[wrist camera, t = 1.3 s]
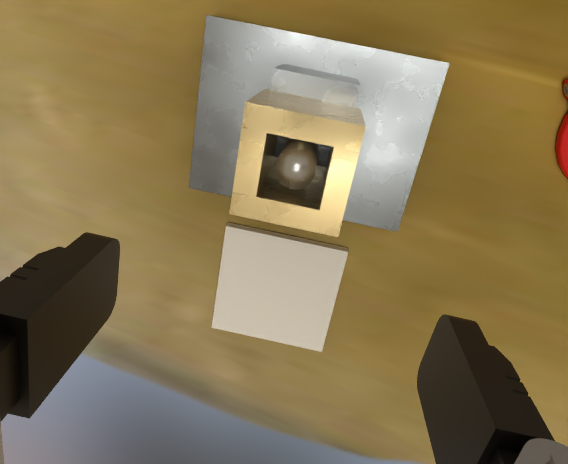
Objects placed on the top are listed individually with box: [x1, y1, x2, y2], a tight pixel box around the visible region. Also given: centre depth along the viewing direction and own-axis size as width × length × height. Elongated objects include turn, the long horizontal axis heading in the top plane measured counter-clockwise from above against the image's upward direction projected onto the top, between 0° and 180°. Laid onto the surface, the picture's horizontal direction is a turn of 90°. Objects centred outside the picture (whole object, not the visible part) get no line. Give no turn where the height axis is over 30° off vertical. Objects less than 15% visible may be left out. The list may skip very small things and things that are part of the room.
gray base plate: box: [189, 15, 449, 232], centre depth 28 cm, size 16×12×12 cm
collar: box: [229, 89, 366, 237], centre depth 25 cm, size 6×6×6 cm
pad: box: [212, 222, 348, 352], centre depth 39 cm, size 10×10×1 cm
